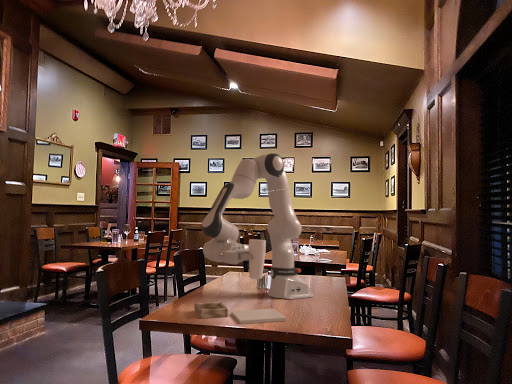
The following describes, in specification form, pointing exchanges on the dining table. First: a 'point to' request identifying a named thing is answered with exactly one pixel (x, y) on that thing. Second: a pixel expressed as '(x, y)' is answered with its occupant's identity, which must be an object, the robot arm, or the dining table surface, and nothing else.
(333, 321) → the dining table surface
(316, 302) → the dining table surface
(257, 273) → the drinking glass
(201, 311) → the wooden tray
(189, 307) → the dining table surface
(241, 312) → the plate
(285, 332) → the dining table surface
